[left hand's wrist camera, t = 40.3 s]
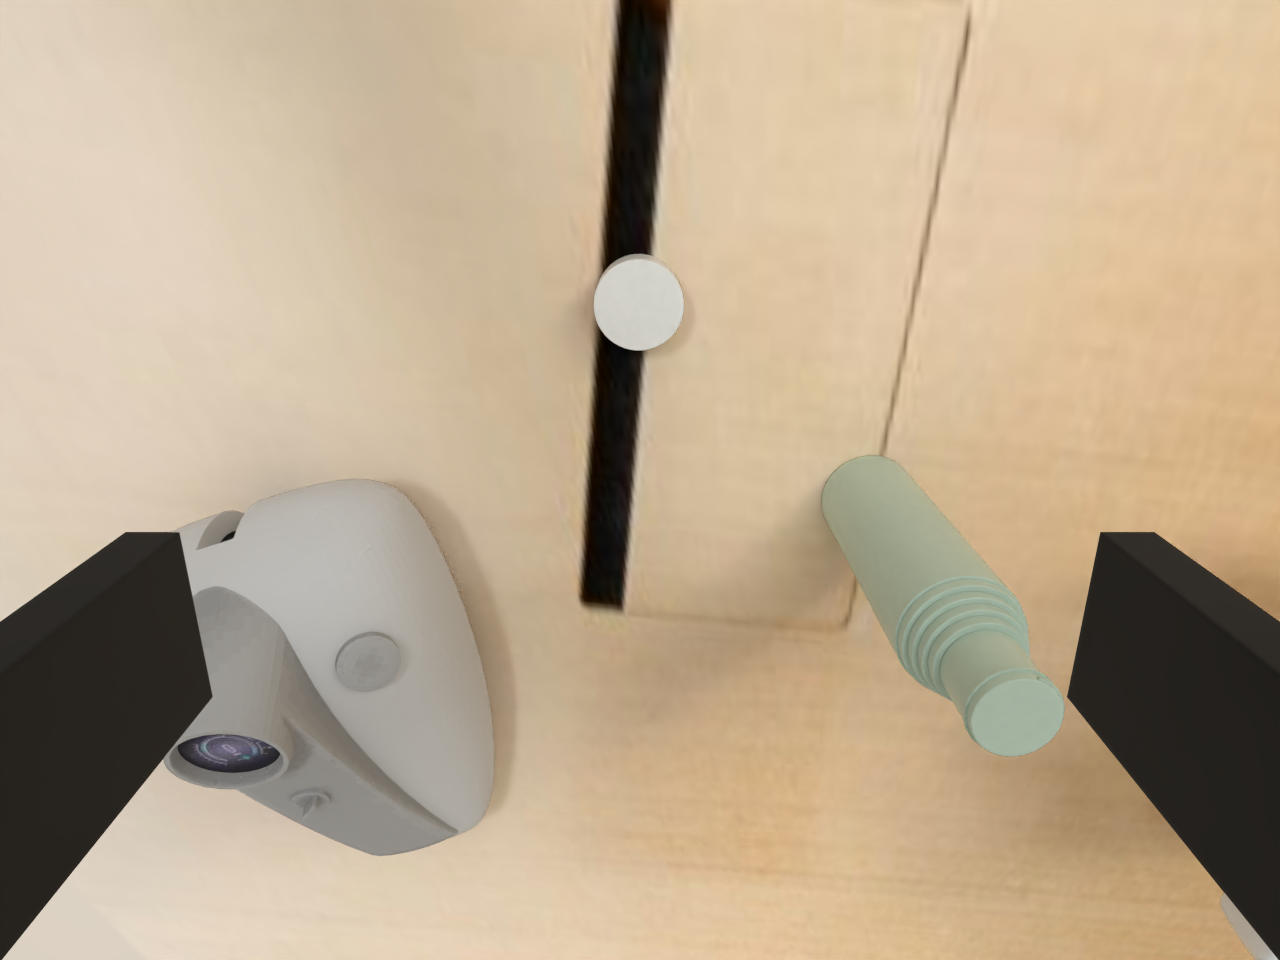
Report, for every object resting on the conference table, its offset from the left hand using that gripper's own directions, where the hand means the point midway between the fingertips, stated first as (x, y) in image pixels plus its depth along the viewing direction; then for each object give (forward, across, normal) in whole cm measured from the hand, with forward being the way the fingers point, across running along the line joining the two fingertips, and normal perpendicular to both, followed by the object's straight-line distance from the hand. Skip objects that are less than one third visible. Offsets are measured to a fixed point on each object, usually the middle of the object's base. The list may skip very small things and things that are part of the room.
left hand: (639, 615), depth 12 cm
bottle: (+32, +12, -11) cm, 36 cm away
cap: (+32, 0, 0) cm, 32 cm away
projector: (+32, -16, -20) cm, 41 cm away
